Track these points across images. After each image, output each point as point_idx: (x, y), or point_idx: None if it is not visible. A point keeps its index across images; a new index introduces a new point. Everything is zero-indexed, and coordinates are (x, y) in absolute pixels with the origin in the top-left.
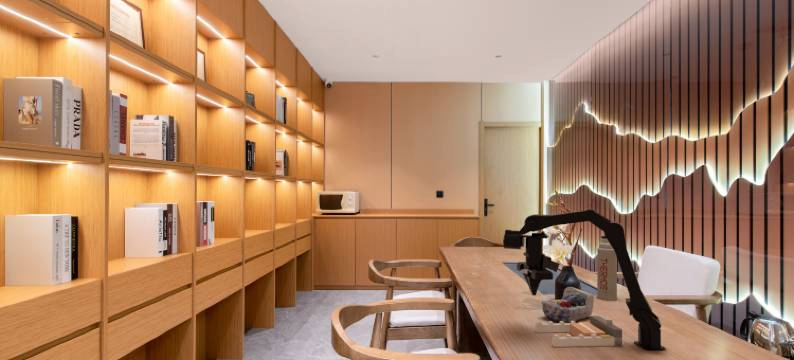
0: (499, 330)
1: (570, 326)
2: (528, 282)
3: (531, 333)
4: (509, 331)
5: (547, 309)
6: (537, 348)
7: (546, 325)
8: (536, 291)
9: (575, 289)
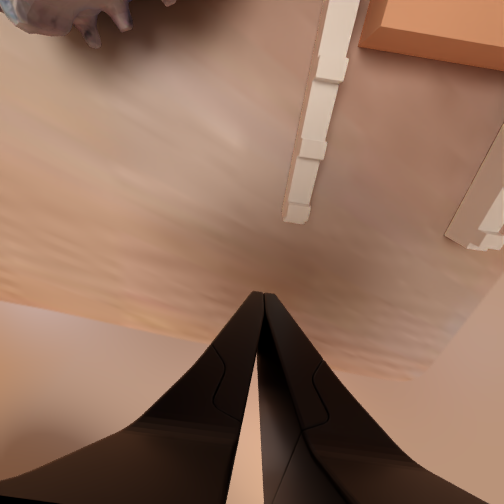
0: None
1: (382, 34)
2: (267, 492)
3: (301, 241)
4: None
5: (72, 11)
6: (438, 295)
7: (314, 178)
8: (291, 322)
9: None
